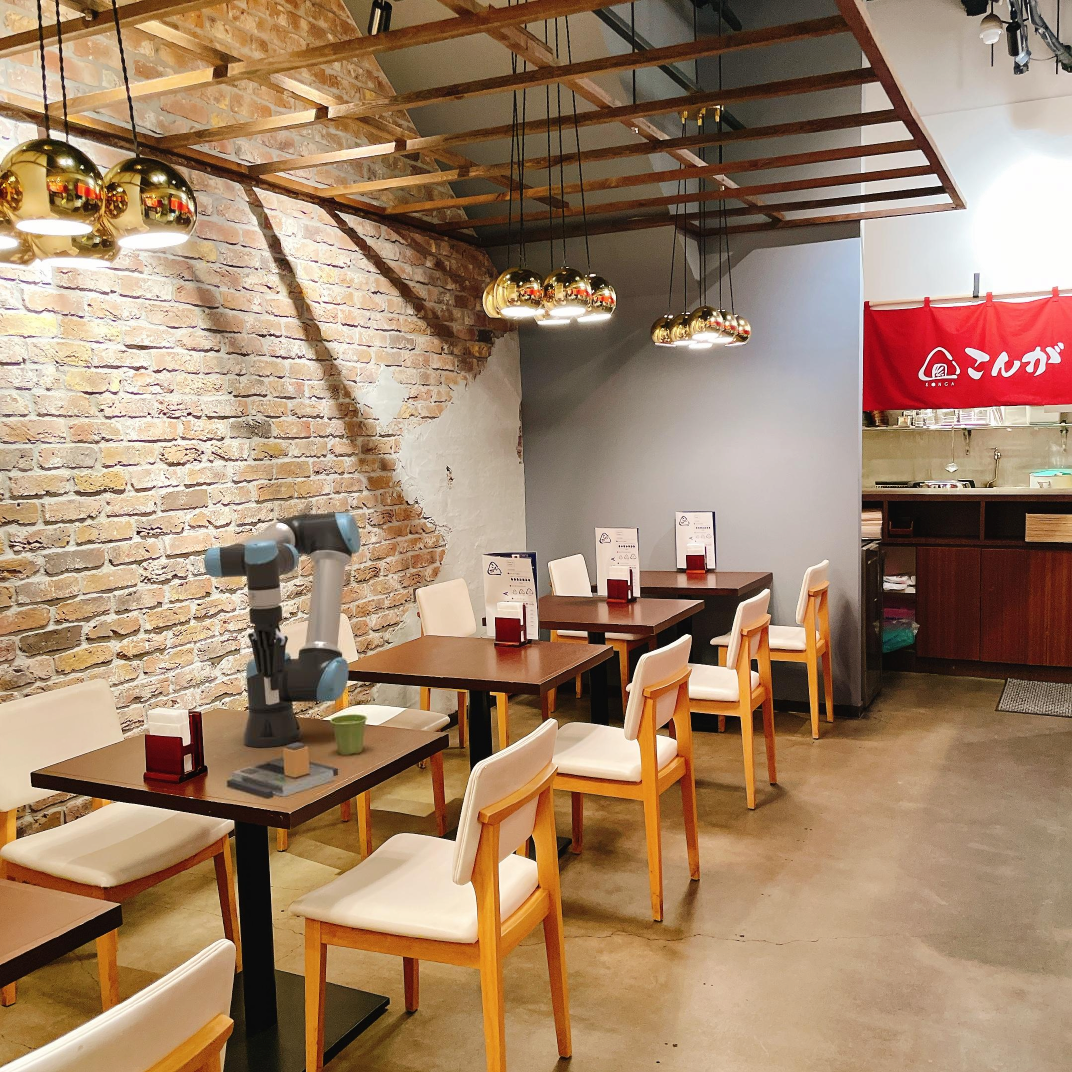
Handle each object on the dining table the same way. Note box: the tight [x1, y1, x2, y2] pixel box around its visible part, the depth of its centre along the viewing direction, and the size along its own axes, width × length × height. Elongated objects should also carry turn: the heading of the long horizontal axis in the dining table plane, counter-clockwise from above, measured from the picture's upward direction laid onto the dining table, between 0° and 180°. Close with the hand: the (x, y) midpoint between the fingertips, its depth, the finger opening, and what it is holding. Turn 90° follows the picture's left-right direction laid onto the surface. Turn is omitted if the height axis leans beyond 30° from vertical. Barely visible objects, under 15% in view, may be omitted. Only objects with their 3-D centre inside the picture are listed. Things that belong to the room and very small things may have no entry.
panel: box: [231, 756, 335, 798], centre depth 235 cm, size 20×14×3 cm
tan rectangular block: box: [282, 741, 310, 777], centre depth 231 cm, size 4×4×7 cm
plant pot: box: [329, 713, 368, 756], centre depth 257 cm, size 9×9×9 cm
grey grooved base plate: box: [226, 761, 339, 799], centre depth 235 cm, size 17×20×1 cm
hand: (272, 702), depth 241 cm, fingers closed
